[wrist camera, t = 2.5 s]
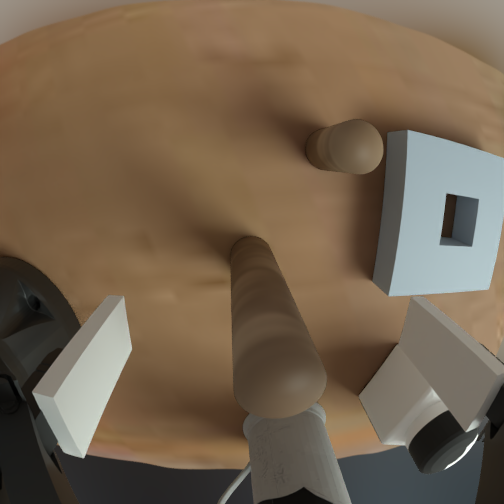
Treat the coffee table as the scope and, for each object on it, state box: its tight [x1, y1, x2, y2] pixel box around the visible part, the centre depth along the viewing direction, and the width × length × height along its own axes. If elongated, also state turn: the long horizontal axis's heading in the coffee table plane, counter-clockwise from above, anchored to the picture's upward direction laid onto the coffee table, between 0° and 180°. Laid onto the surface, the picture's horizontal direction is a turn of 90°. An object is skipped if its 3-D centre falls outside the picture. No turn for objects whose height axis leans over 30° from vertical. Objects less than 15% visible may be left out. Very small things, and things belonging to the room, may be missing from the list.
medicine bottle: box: [359, 344, 479, 474], centre depth 22 cm, size 7×7×12 cm
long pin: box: [231, 236, 327, 419], centre depth 16 cm, size 3×3×14 cm
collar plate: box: [372, 130, 504, 296], centre depth 21 cm, size 12×12×3 cm
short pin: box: [305, 119, 383, 174], centre depth 18 cm, size 3×3×6 cm
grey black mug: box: [217, 402, 351, 504], centre depth 21 cm, size 9×14×15 cm, turn 125°
